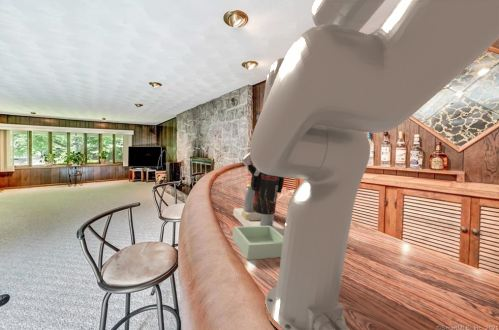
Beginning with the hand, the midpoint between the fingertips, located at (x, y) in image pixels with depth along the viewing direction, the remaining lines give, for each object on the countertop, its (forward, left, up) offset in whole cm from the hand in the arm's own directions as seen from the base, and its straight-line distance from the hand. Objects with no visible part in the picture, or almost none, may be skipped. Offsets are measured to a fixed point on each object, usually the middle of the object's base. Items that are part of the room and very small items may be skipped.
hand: (266, 190), depth 57 cm
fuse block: (+16, -6, -15) cm, 23 cm away
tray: (0, 0, -15) cm, 15 cm away
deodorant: (0, 0, -6) cm, 6 cm away
